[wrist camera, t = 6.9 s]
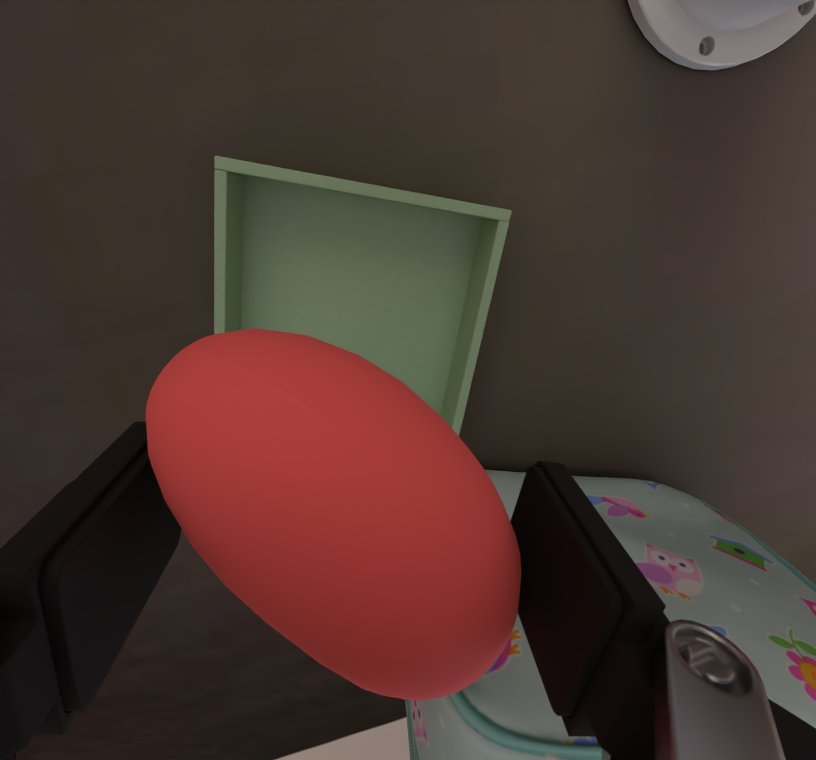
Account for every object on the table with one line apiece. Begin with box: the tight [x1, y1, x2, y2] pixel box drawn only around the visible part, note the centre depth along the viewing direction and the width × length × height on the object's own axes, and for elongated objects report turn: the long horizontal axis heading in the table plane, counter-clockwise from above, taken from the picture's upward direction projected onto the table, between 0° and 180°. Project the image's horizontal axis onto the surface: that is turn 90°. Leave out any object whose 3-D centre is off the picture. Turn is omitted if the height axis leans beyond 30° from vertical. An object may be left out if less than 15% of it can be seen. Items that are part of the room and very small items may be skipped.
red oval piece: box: [145, 328, 522, 700], centre depth 9 cm, size 5×9×6 cm, turn 23°
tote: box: [214, 156, 512, 436], centre depth 26 cm, size 15×15×4 cm
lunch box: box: [405, 470, 816, 760], centre depth 26 cm, size 27×10×21 cm, turn 82°
